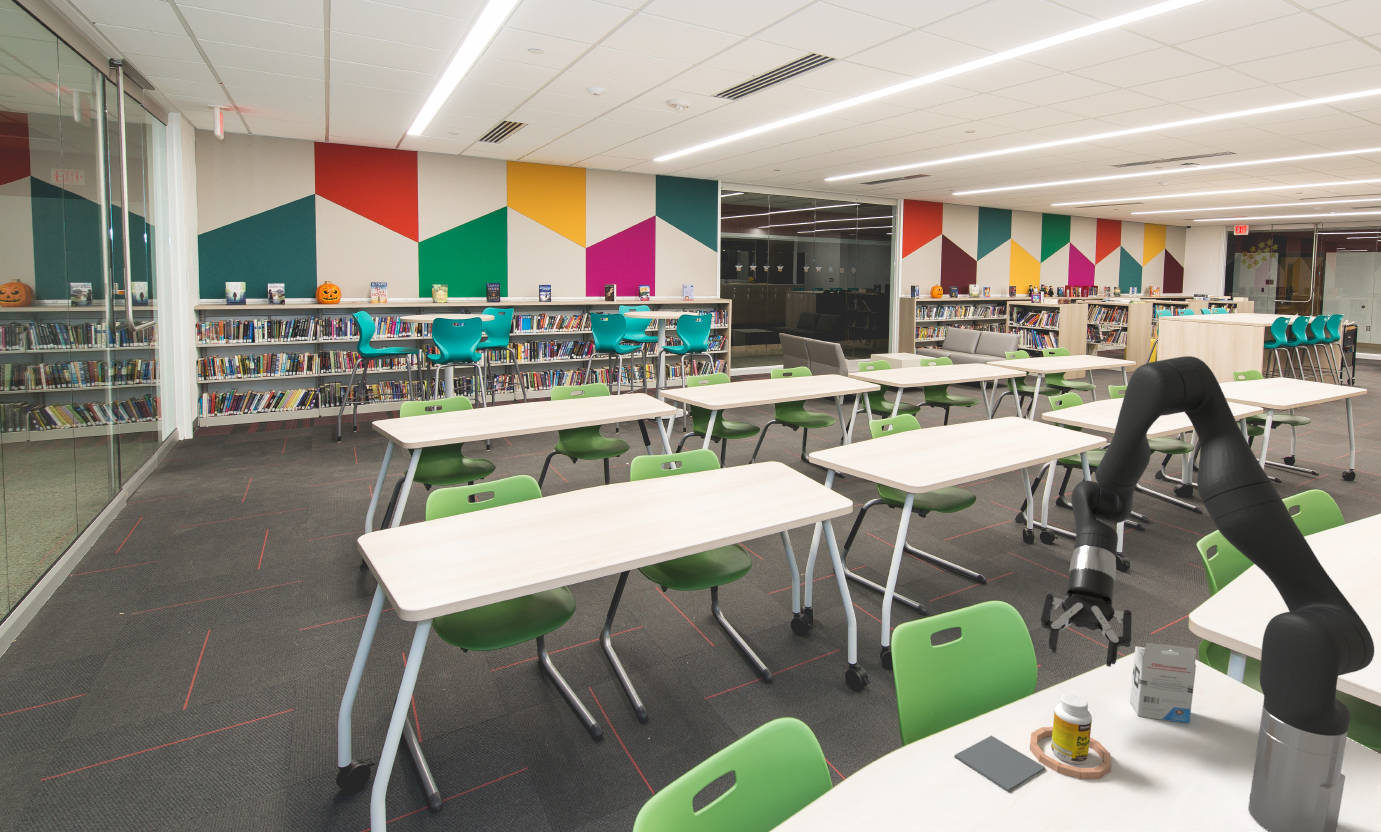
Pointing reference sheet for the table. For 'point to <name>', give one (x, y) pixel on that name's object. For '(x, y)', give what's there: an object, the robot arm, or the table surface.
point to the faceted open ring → (1066, 769)
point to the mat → (999, 763)
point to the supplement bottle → (1071, 729)
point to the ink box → (1163, 682)
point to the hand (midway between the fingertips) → (1081, 658)
